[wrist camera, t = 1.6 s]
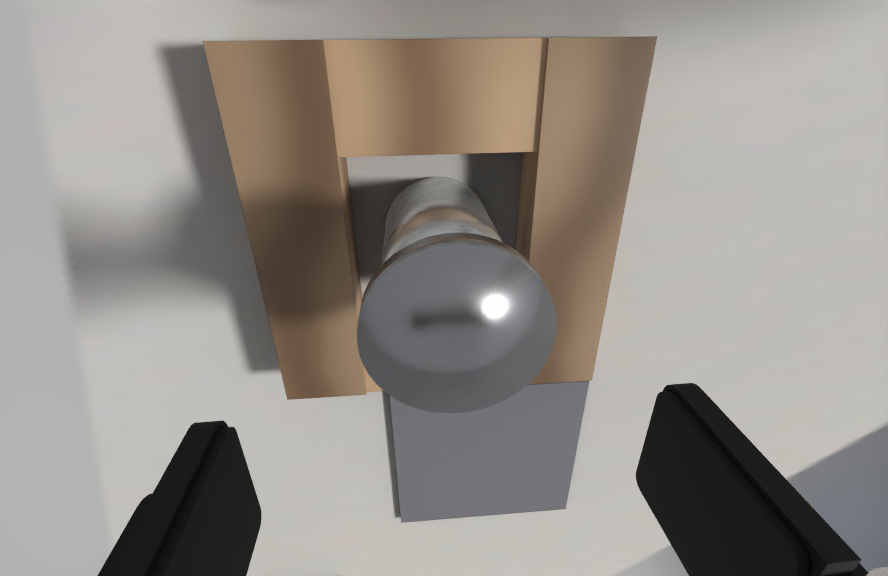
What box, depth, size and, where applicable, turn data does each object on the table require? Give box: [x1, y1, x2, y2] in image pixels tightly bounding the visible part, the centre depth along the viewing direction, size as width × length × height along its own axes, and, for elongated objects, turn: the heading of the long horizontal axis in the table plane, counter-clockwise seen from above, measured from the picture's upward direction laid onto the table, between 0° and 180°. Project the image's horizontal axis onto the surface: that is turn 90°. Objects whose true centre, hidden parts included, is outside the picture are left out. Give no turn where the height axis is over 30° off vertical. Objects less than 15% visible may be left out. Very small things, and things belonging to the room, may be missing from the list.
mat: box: [390, 381, 589, 523], centre depth 29 cm, size 12×12×1 cm
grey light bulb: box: [357, 177, 557, 413], centre depth 17 cm, size 6×6×10 cm
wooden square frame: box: [203, 37, 657, 400], centre depth 20 cm, size 16×16×3 cm
